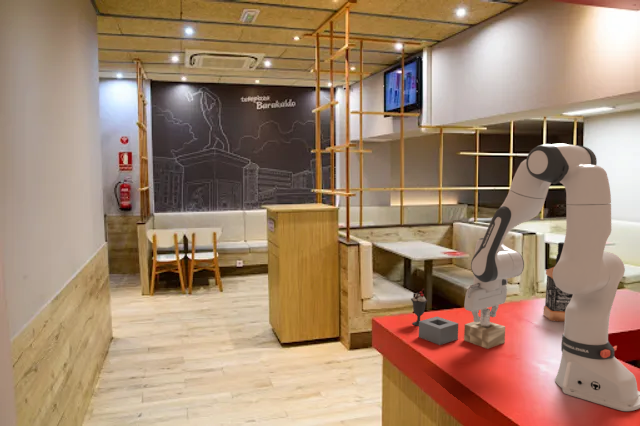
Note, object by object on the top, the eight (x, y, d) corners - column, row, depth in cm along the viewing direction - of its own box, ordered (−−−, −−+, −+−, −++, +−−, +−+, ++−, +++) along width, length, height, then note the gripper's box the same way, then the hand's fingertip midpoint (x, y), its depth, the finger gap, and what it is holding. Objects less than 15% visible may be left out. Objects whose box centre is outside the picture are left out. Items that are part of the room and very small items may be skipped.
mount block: (504, 342, 173) (505, 326, 172) (487, 348, 167) (488, 332, 166) (480, 334, 181) (481, 319, 180) (464, 340, 175) (464, 324, 174)
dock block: (457, 339, 176) (458, 323, 175) (439, 345, 170) (440, 328, 169) (436, 331, 184) (436, 316, 183) (418, 337, 178) (419, 321, 177)
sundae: (427, 327, 189) (428, 290, 187) (410, 326, 190) (410, 289, 188) (427, 322, 195) (428, 286, 194) (410, 321, 196) (411, 285, 195)
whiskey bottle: (550, 321, 197) (554, 244, 193) (542, 314, 206) (546, 240, 203) (577, 322, 195) (581, 245, 192) (568, 315, 205) (572, 241, 202)
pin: (490, 341, 173) (492, 309, 172) (485, 343, 171) (486, 311, 170) (483, 339, 176) (484, 307, 175) (477, 341, 174) (478, 309, 173)
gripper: (475, 287, 163) (474, 327, 164) (510, 279, 175) (508, 316, 176) (460, 283, 168) (459, 322, 169) (495, 276, 180) (493, 311, 181)
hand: (484, 318), depth 173 cm, fingers open, 8 cm apart
